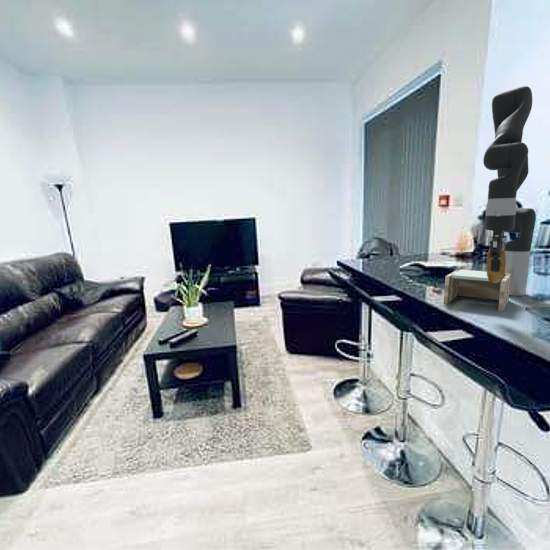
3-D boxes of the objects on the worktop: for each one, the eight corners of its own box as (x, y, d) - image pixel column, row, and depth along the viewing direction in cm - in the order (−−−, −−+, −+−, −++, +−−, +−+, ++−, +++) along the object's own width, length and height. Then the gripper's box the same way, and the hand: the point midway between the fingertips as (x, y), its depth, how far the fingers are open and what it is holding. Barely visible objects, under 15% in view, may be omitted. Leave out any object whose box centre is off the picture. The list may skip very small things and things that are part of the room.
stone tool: (504, 283, 104) (508, 235, 100) (503, 285, 102) (508, 236, 98) (485, 281, 107) (488, 234, 103) (484, 283, 105) (487, 235, 102)
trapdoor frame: (454, 294, 134) (456, 269, 132) (508, 300, 123) (511, 273, 121) (443, 303, 121) (445, 276, 119) (502, 311, 110) (505, 281, 108)
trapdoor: (460, 272, 130) (461, 269, 130) (504, 275, 121) (504, 272, 121) (451, 278, 119) (452, 274, 119) (498, 282, 110) (499, 278, 110)
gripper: (489, 213, 108) (484, 266, 111) (481, 214, 97) (477, 273, 101) (517, 213, 103) (512, 268, 106) (513, 214, 93) (507, 275, 96)
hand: (495, 270), depth 103 cm, fingers closed on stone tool, 2 cm apart
